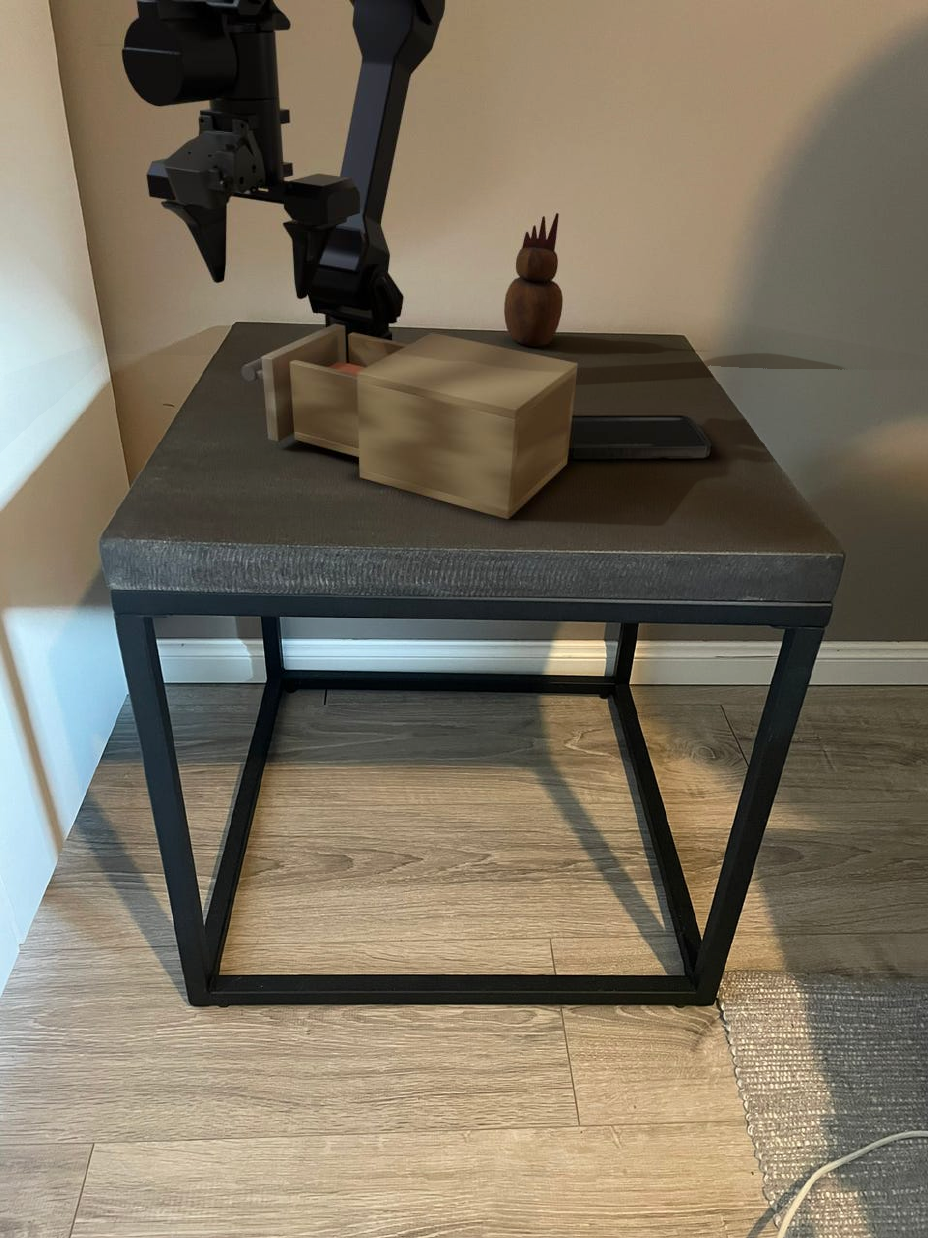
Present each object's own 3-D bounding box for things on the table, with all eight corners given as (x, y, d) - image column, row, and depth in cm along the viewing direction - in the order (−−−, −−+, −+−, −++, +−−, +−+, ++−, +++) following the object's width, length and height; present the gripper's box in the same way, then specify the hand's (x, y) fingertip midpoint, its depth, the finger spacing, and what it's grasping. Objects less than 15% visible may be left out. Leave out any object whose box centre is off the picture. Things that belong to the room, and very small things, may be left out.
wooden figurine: (565, 342, 117) (579, 212, 108) (543, 354, 113) (555, 220, 104) (518, 330, 120) (527, 203, 111) (494, 342, 115) (502, 211, 107)
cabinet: (359, 477, 84) (356, 372, 78) (429, 429, 93) (431, 332, 88) (508, 519, 78) (516, 409, 73) (566, 464, 88) (578, 363, 82)
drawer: (231, 428, 89) (222, 347, 85) (302, 391, 98) (298, 315, 93) (393, 474, 83) (392, 388, 78) (455, 429, 91) (457, 349, 87)
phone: (543, 415, 94) (690, 414, 96) (542, 425, 95) (688, 425, 96) (558, 448, 88) (714, 447, 89) (556, 459, 88) (712, 458, 90)
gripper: (85, 93, 75) (118, 294, 84) (281, 116, 69) (294, 331, 77) (178, 83, 83) (199, 267, 92) (361, 103, 77) (365, 298, 86)
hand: (259, 289), depth 87 cm, fingers open, 9 cm apart
